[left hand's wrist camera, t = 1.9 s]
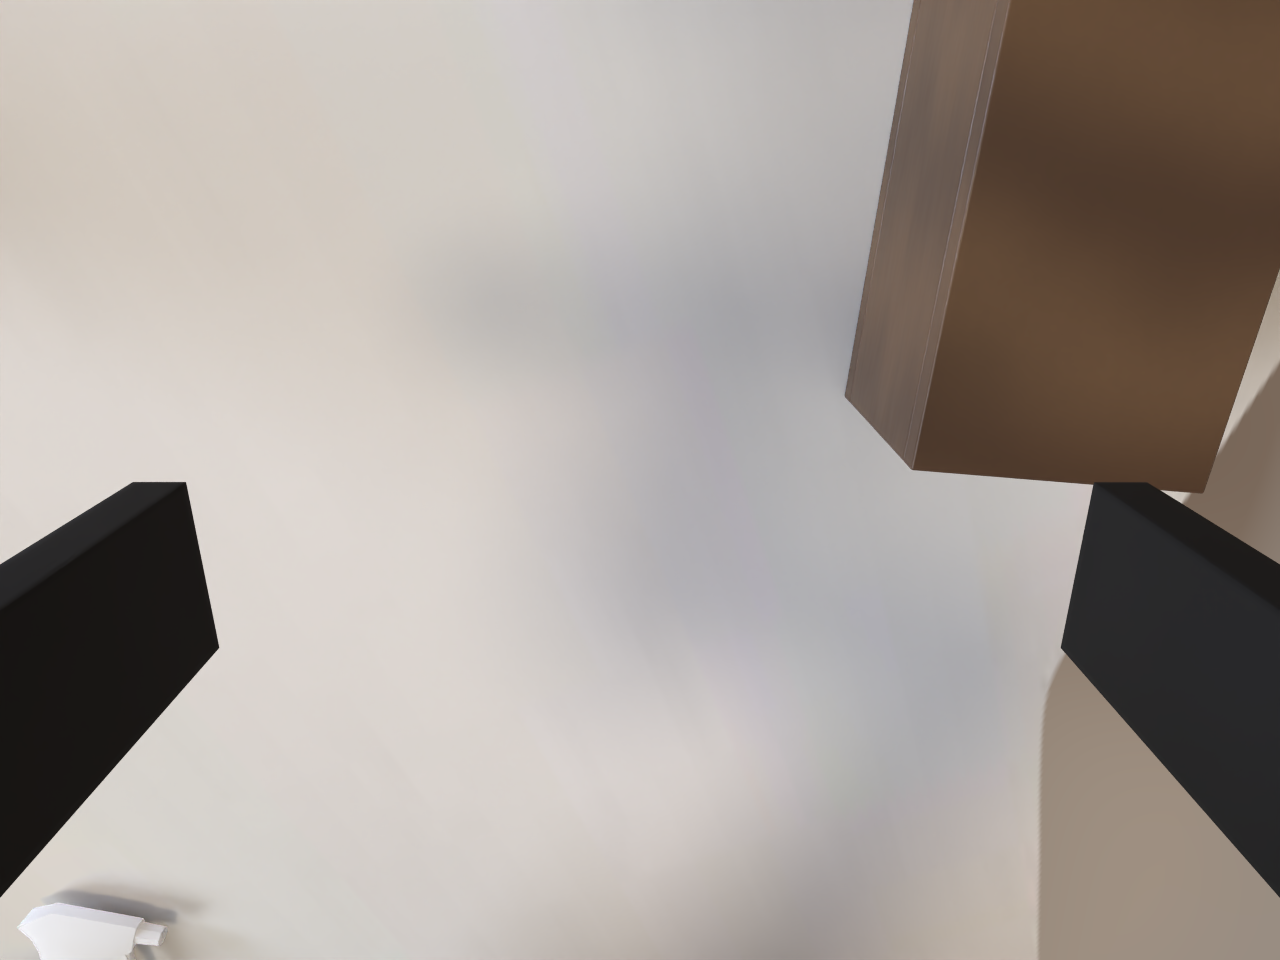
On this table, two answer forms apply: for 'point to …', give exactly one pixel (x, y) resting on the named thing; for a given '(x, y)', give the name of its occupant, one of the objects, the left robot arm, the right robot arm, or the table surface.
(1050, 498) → the table surface
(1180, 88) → the brown rectangular box
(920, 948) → the table surface
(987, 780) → the table surface
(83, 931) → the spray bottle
